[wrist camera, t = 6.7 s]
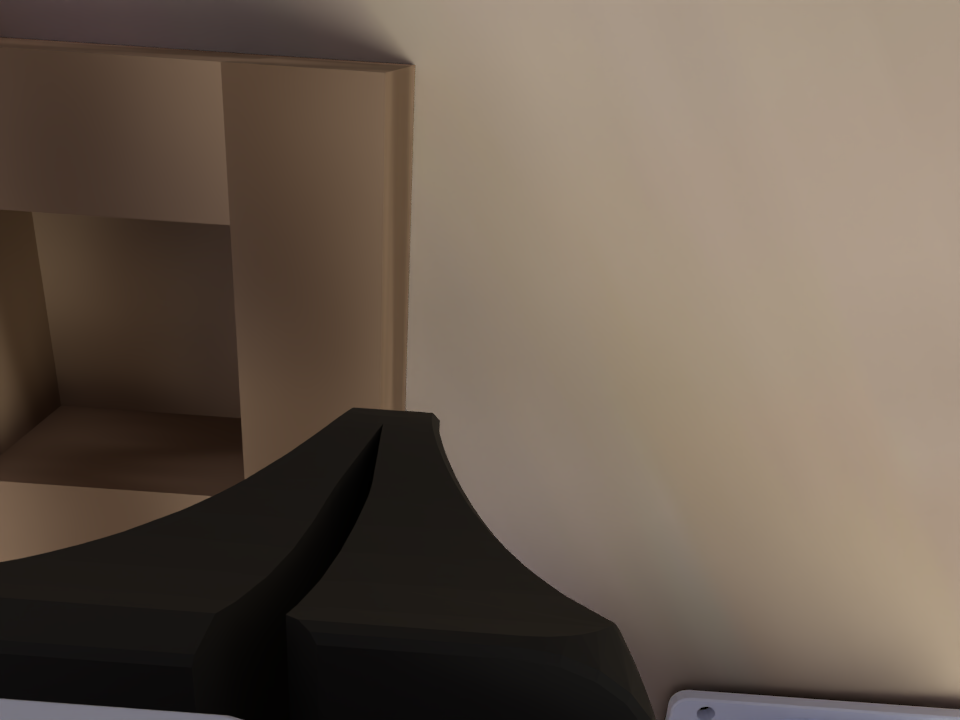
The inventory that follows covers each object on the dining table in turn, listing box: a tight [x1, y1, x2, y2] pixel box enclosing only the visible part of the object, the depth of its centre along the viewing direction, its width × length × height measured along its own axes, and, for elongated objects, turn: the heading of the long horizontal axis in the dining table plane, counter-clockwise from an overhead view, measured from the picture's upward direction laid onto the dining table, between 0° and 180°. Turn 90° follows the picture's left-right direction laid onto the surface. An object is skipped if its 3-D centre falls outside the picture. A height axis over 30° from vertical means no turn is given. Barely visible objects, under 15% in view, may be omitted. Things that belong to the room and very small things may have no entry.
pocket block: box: [0, 37, 415, 562], centre depth 17 cm, size 11×11×4 cm
